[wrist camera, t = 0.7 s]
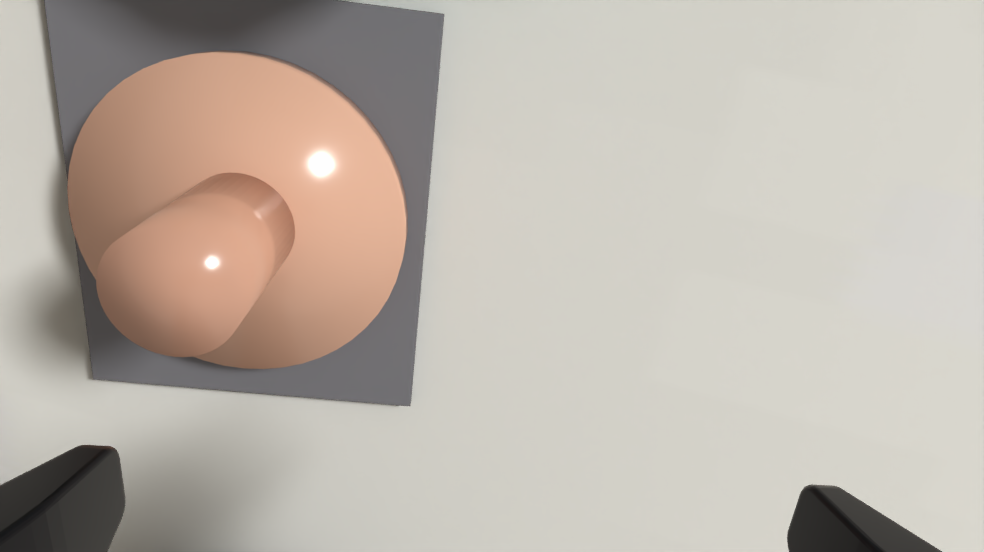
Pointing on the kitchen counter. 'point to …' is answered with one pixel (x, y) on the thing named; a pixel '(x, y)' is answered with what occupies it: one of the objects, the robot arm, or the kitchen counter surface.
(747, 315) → the kitchen counter surface
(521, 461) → the kitchen counter surface
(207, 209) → the lid
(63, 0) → the mat
